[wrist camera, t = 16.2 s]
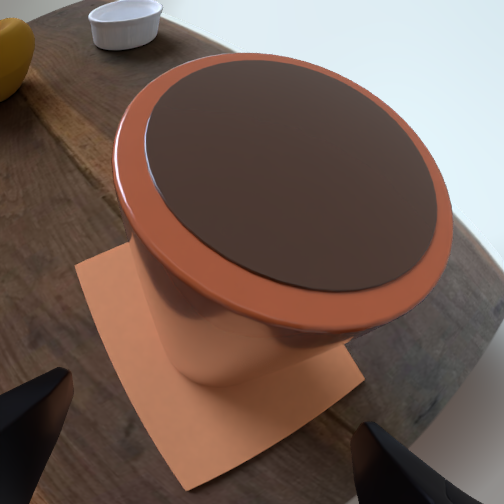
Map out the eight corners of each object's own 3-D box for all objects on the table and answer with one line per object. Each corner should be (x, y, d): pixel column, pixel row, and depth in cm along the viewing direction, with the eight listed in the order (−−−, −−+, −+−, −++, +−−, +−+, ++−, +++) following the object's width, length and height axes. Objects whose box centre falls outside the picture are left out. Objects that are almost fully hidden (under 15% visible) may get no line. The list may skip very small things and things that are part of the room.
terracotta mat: (362, 380, 17) (365, 379, 17) (186, 489, 13) (186, 491, 12) (246, 199, 22) (247, 195, 21) (76, 267, 17) (74, 265, 16)
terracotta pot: (240, 409, 15) (421, 410, 3) (138, 346, 15) (29, 172, 4) (292, 313, 18) (458, 147, 6) (199, 258, 18) (241, 28, 7)
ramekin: (105, 26, 31) (105, -1, 27) (167, 26, 32) (170, -2, 29) (79, 55, 27) (75, 24, 23) (150, 54, 28) (152, 20, 25)
